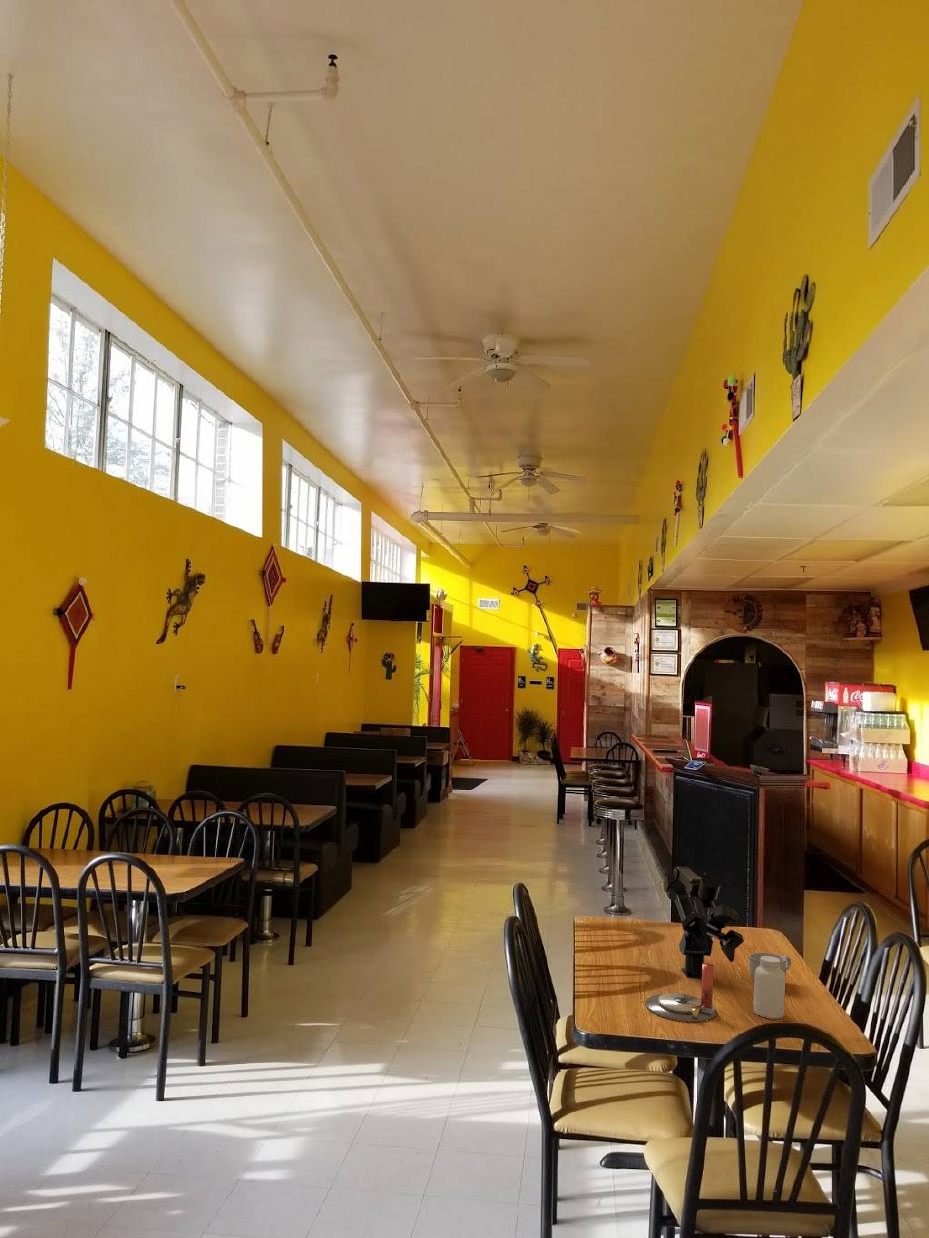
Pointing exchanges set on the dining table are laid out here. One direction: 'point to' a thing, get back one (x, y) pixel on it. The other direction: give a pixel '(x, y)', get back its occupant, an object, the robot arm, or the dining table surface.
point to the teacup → (756, 956)
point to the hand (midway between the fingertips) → (719, 955)
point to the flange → (687, 1002)
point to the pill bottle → (769, 988)
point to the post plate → (658, 1010)
